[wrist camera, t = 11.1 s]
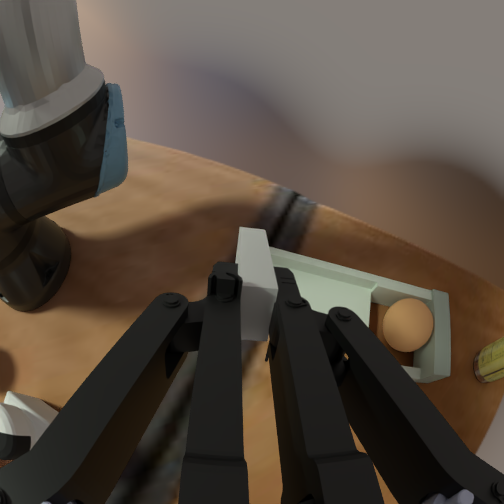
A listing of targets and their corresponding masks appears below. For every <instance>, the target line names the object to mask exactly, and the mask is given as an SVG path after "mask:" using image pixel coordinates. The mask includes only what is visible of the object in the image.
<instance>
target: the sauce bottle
mask: <svg viewBox="0 0 504 504" xmlns="http://www.w3.org/2000/svg"><path fill="white" fill-rule="evenodd" d="M474 371H475V374H476V377H477V379H478V380H479V381H480V382H483V383H488V382H492V381H495V380H497V379H500V378H502V377H504V337H502V338H500V339H499V340H497V341H495V342H493V343H491V344H490V345H488V346H486V347H484V348H483V349H482V350H481V351H479V352H478V353H477V355H476V357H475V360H474Z"/></svg>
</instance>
